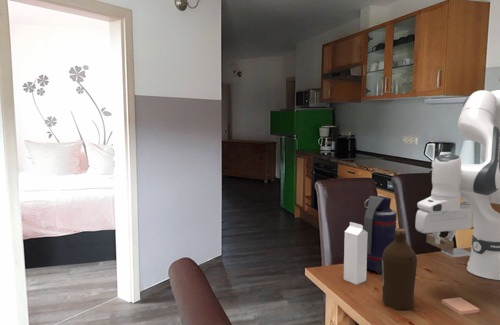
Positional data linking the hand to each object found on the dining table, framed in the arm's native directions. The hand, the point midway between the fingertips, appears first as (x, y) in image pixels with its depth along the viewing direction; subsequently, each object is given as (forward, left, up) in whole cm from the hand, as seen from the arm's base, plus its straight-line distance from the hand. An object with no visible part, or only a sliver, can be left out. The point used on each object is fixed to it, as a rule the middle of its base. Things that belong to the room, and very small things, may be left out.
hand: (443, 243), depth 128 cm
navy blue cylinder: (+8, -26, -19) cm, 33 cm away
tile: (0, +5, -18) cm, 19 cm away
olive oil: (+18, +1, -19) cm, 26 cm away
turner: (0, +1, -2) cm, 2 cm away
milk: (+22, -19, -19) cm, 35 cm away
